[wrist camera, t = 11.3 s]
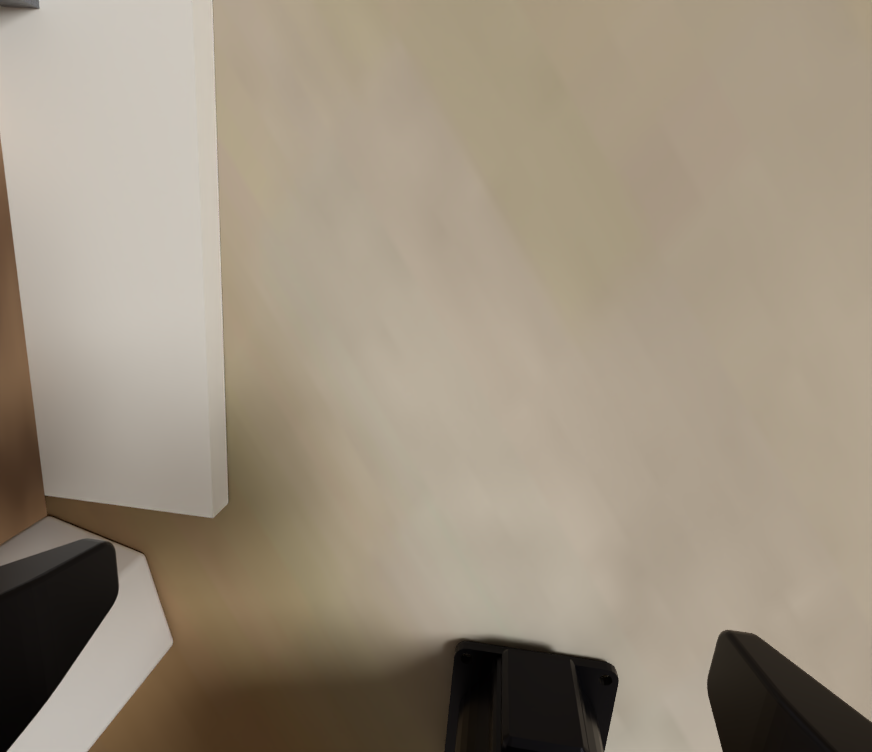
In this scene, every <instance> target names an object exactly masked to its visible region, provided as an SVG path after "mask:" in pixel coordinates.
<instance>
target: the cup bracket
mask: <svg viewBox="0 0 872 752" xmlns="http://www.w3.org/2000/svg"><path fill="white" fill-rule="evenodd" d="M0 5H1V6H3V7H12V8H36V9H40V7H39V0H0Z"/></svg>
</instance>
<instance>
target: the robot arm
mask: <svg viewBox="0 0 872 752" xmlns="http://www.w3.org/2000/svg"><path fill="white" fill-rule="evenodd" d="M118 592H119V579H118V569H117V559H116V550H115V547H114V545H113V544H112V543H111V542H109V541H104V540H97V539H90V538H85V539H80V540H77V541H74V542H71V543H68V544H65V545H62V546H59V547H56V548H53V549H50V550H47V551H44V552H41V553H38V554H35V555H32V556H29V557H26V558H23V559H20V560H17V561H14V562H11V563H8V564H5V565H2V566H0V752H7V751H8V750H9V748H10V747H11V746H12V745H13V743H14V742H15V741H16V740H17V739H18V737H19V736H20V735H21V734H22V732H23V731H24V730H25V729H26V727H27V726H28V725H29V724H30V722H31V721H32V720H33V719H34V718H35V716H36V715H37V714H38V712H39V711H40V710H41V709H42V707H43V706H44V705H45V703H46V702H47V701H48V699H49V698H50V697H51V695H52V694H53V692H54V691H55V690H56V688H57V687H58V686H59V684H60V683H61V681H62V680H63V678H64V677H65V675H66V674H67V672H68V671H69V670H70V668H71V667H72V665H73V664H74V662H75V661H76V659H77V658H78V656H79V655H80V653H81V652H82V650H83V649H84V648H85V646H86V645H87V643H88V642H89V640H90V639H91V637H92V636H93V634H94V633H95V631H96V630H97V628H98V627H99V625H100V624H101V623H102V621H103V620H104V618H105V617H106V615H107V614H108V612H109V611H110V609H111V608H112V606H113V605H114V603H115V601H116V599H117V596H118ZM463 654H470V655H471V656H469V657H466V656H464V655H463ZM603 675H608V677H605V678H602V677H601V676H603ZM617 687H618V675H617V671H616V669H615V667H614V666H613V665H612V664H610V663H607V662H601V661H595V660H588V659H581V658H575V657H568V656H562V655H555V654H548V653H542V652H535V651H529V650H522V649H515V648H509V647H502V646H496V645H489V644H482V643H476V642H469V641H464V642H461V643H459V644H458V645H457V646H456V649H455V656H454V666H453V675H452V685H451V695H450V705H449V715H448V724H447V734H446V744H445V752H604V751H605V746H606V741H607V736H608V731H609V726H610V721H611V717H612V712H613V707H614V702H615V697H616V692H617ZM707 689H708V696H709V700H710V704H711V708H712V712H713V716H714V719H715V723H716V727H717V731H718V735H719V739H720V743H721V747H722V750H723V752H872V722H871V721H869V720H868V719H867V718H865V717H864V716H863V715H861V714H860V713H859V712H857V711H856V710H855V709H853V708H852V707H851V706H849V705H848V704H847V703H845V702H844V701H843V700H842V699H840V698H839V697H838V696H836V695H835V694H834V693H832V692H831V691H830V690H828V689H827V688H826V687H824V686H823V685H822V684H820V683H819V682H818V681H816V680H815V679H814V678H812V677H811V676H810V675H809V674H807V673H806V672H805V671H803V670H802V669H801V668H799V667H798V666H797V665H795V664H794V663H793V662H791V661H790V660H789V659H787V658H786V657H785V656H783V655H782V654H781V653H779V652H778V651H777V650H776V649H774V648H773V647H772V646H770V645H769V644H768V643H766V642H765V641H764V640H762V639H761V638H760V637H758V636H757V635H755V634H752V633H747V632H739V631H732V630H725V631H723V632H721V633H720V635H719V637H718V640H717V643H716V647H715V651H714V655H713V659H712V663H711V666H710V670H709V674H708V680H707Z"/></svg>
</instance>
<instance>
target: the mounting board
mask: <svg viewBox="0 0 872 752" xmlns="http://www.w3.org/2000/svg"><path fill="white" fill-rule="evenodd" d="M39 7H40V9H36V8H12V7H3V6H1V5H0V137H1V146H2V154H3V162H4V170H5V178H6V186H7V194H8V202H9V210H10V218H11V227H12V235H13V243H14V251H15V259H16V267H17V275H18V283H19V291H20V299H21V307H22V316H23V324H24V332H25V340H26V348H27V356H28V364H29V372H30V380H31V388H32V397H33V405H34V413H35V421H36V429H37V437H38V445H39V453H40V461H41V469H42V478H43V486H44V494H45V495H46V496H53V497H61V498H68V499H76V500H83V501H90V502H98V503H105V504H112V505H120V506H127V507H135V508H142V509H149V510H157V511H164V512H171V513H179V514H186V515H194V516H201V517H208V518H214V517H215V516H216V515H217V514H218V513H219V512H220V511H221V510H222V509H223V508H224V507H225V506H226V505H227V504H228V475H227V443H226V412H225V381H224V349H223V318H222V287H221V256H220V224H219V193H218V162H217V130H216V99H215V68H214V36H213V5H212V0H39Z"/></svg>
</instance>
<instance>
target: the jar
mask: <svg viewBox="0 0 872 752" xmlns="http://www.w3.org/2000/svg"><path fill="white" fill-rule="evenodd" d="M85 538H90V539H97V540H104V541H109V542H111V543H112V544H113V545H114V547H115V550H116V559H117V569H118V579H119V592H118V596H117V599H116V601H115V603H114V605H113V606H112V608H111V609H110V611H109V612H108V614H107V615H106V617H105V618H104V620H103V621H102V623H101V624H100V625H99V627H98V628H97V630H96V631H95V633H94V634H93V636H92V637H91V639H90V640H89V642H88V643H87V645H86V646H85V648H84V649H83V650H82V652H81V653H80V655H79V656H78V658H77V659H76V661H75V662H74V664H73V665H72V667H71V668H70V670H69V671H68V672H67V674H66V675H65V677H64V678H63V680H62V681H61V683H60V684H59V686H58V687H57V688H56V690H55V691H54V692H53V694H52V695H51V697H50V698H49V699H48V701H47V702H46V703H45V705H44V706H43V707H42V709H41V710H40V711H39V712H38V714H37V715H36V716H35V718H34V719H33V720H32V721H31V722H30V724H29V725H28V726H27V727H26V729H25V730H24V731H23V732H22V734H21V735H20V736H19V737H18V739H17V740H16V741H15V742H14V743H13V745H12V746H11V747H10V748H9V750H8V751H7V752H88V750H89V749H90V748H91V747H92V745H93V744H94V743H95V742H96V740H97V739H98V738H99V737H100V735H101V734H102V733H103V732H104V730H105V729H106V728H107V727H108V725H109V724H110V723H111V722H112V720H113V719H114V718H115V717H116V715H117V714H118V713H119V712H120V710H121V709H122V708H123V707H124V705H125V704H126V703H127V702H128V700H129V699H130V698H131V697H132V695H133V694H134V693H135V692H136V690H137V689H138V688H139V687H140V685H141V684H142V683H143V682H144V680H145V679H146V678H147V677H148V675H149V674H150V673H151V672H152V670H153V669H154V668H155V667H156V665H157V664H158V663H159V661H160V660H161V659H162V658H163V656H164V655H165V654H166V653H167V651H168V650H169V649H170V648H171V646H172V644H173V638H172V635H171V632H170V629H169V626H168V623H167V620H166V617H165V614H164V611H163V608H162V605H161V602H160V599H159V596H158V593H157V590H156V587H155V584H154V581H153V578H152V575H151V572H150V569H149V566H148V563H147V560H146V557H145V555H144V554H142V553H140V552H138V551H135V550H133V549H130V548H128V547H125V546H123V545H120V544H118V543H116V542H113V541H111V540H108V539H106V538H103V537H101V536H98V535H96V534H93V533H91V532H88V531H86V530H84V529H81V528H79V527H76V526H74V525H71V524H69V523H66V522H64V521H61V520H59V519H56V518H54V517H51V516H46V517H44V518H42V519H41V520H39V521H38V522H36V523H34V524H33V525H31V526H30V527H28V528H26V529H25V530H23V531H22V532H20V533H18V534H17V535H15V536H13V537H12V538H10V539H9V540H7V541H5V542H4V543H2V544H1V545H0V566H2V565H5V564H8V563H11V562H14V561H17V560H20V559H23V558H26V557H29V556H32V555H35V554H38V553H41V552H44V551H47V550H50V549H53V548H56V547H59V546H62V545H65V544H68V543H71V542H74V541H77V540H80V539H85Z"/></svg>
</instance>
